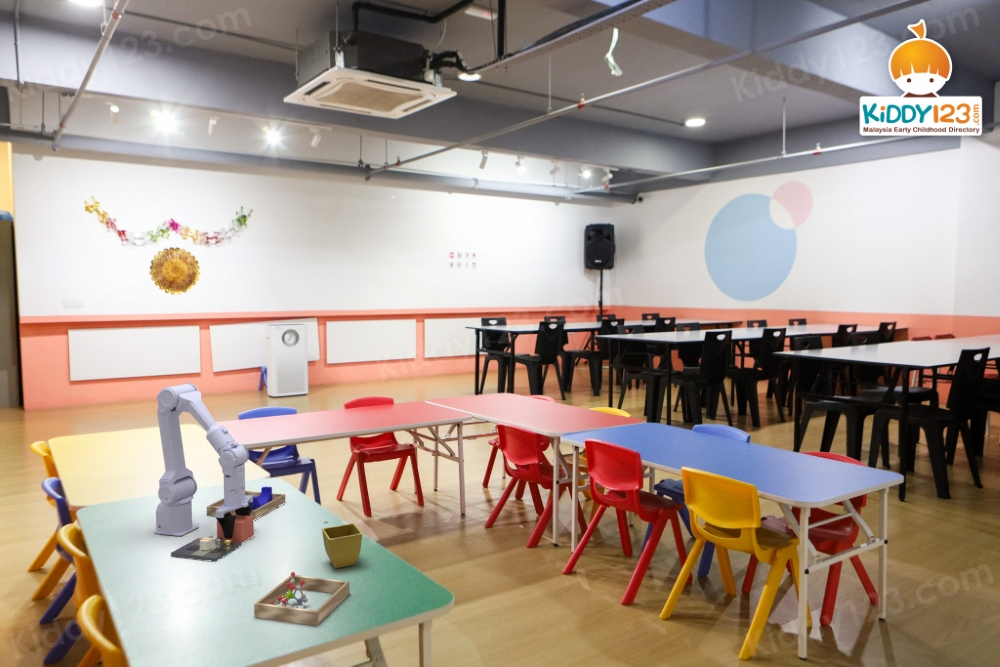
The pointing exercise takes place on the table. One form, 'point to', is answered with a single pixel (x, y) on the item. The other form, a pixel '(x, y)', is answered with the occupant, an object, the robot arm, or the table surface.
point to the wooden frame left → (276, 501)
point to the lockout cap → (239, 529)
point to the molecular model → (292, 595)
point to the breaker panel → (212, 554)
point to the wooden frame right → (296, 614)
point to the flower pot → (342, 544)
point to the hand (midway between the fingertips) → (235, 533)
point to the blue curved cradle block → (262, 497)
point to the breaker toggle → (206, 543)
